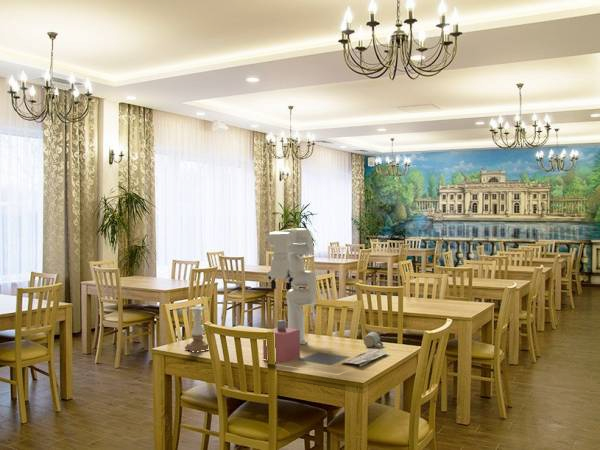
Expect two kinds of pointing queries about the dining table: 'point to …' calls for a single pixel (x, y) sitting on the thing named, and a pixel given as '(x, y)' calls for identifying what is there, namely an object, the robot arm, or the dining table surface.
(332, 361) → the mat
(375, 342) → the ceramic mug
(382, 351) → the newspaper
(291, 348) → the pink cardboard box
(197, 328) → the candle holder
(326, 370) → the dining table surface
